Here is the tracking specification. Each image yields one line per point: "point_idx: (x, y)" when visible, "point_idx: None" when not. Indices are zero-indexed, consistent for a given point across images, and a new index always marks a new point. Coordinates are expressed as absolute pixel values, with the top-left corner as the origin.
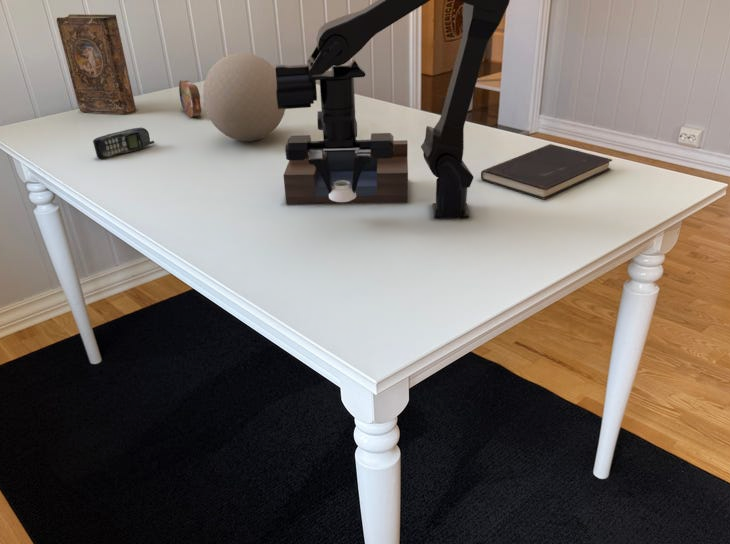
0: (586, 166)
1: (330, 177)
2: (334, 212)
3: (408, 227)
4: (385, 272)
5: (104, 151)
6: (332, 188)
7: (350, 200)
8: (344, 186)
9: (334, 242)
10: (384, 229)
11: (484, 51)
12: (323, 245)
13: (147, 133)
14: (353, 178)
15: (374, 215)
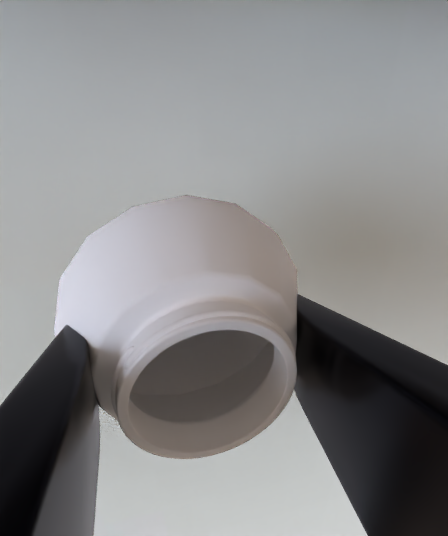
0: None
1: (75, 468)
2: (65, 92)
3: (442, 280)
4: (305, 533)
5: None
6: (105, 404)
7: (246, 367)
8: (238, 439)
9: None
10: (349, 308)
11: None
12: (99, 467)
13: None
14: (362, 509)
15: (330, 150)
